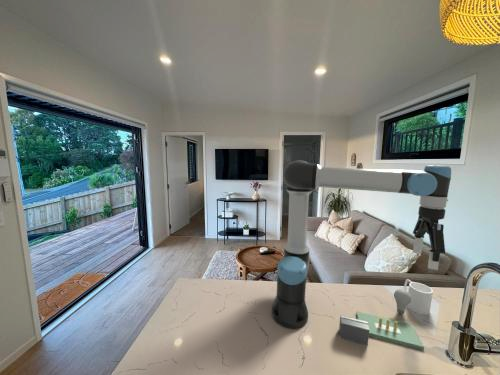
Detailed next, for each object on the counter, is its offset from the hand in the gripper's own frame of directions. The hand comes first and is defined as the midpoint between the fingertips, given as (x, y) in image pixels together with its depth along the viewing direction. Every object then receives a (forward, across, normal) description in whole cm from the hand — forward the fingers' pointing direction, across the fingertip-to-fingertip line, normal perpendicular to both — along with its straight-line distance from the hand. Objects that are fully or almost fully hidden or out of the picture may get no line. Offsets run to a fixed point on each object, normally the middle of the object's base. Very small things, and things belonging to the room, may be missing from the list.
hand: (424, 260), depth 82 cm
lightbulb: (+28, +5, +4) cm, 28 cm away
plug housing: (+28, -16, +25) cm, 40 cm away
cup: (+28, +14, -4) cm, 31 cm away
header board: (+28, -8, +12) cm, 31 cm away
